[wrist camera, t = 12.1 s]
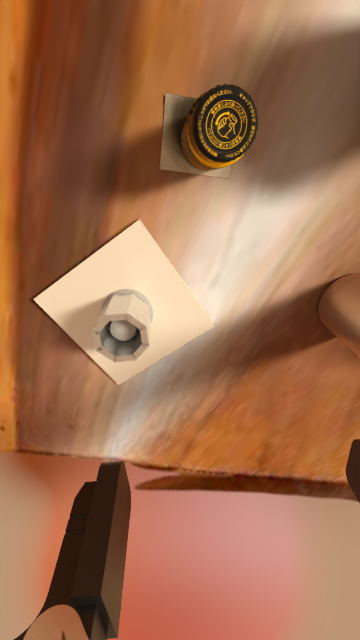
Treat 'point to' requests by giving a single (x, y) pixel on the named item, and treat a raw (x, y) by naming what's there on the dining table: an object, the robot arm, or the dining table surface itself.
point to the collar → (133, 312)
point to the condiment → (207, 131)
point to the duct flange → (123, 277)
